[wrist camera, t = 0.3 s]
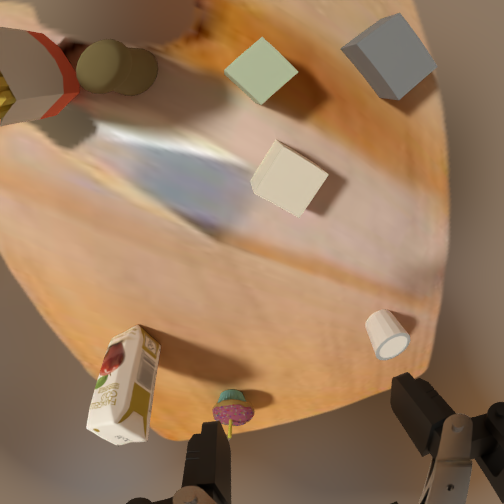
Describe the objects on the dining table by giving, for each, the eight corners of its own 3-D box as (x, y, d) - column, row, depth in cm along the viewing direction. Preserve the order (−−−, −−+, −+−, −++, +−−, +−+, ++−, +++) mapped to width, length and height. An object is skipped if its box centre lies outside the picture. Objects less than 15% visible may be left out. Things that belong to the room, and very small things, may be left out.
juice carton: (167, 345, 49) (155, 443, 32) (134, 360, 50) (117, 448, 34) (138, 318, 45) (113, 419, 29) (106, 335, 47) (78, 427, 31)
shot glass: (357, 335, 52) (369, 362, 46) (369, 307, 48) (385, 334, 42) (386, 332, 53) (400, 358, 47) (400, 306, 49) (416, 331, 43)
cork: (165, 54, 27) (140, 38, 17) (147, 101, 30) (115, 105, 20) (120, 44, 25) (80, 28, 16) (103, 90, 28) (58, 92, 18)
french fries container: (63, 115, 29) (-34, 146, 13) (29, 59, 23) (-68, 64, 8) (89, 91, 28) (-7, 104, 12) (53, 35, 23) (-42, 23, 7)
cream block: (250, 180, 36) (253, 193, 32) (275, 139, 34) (283, 146, 29) (290, 202, 38) (299, 218, 34) (315, 163, 35) (328, 174, 31)
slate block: (339, 49, 28) (356, 44, 24) (380, 19, 26) (399, 12, 21) (378, 97, 31) (399, 100, 27) (415, 66, 29) (437, 66, 25)
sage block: (224, 74, 29) (224, 70, 24) (256, 46, 28) (262, 36, 22) (255, 103, 31) (261, 104, 26) (286, 75, 30) (298, 72, 24)
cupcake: (203, 392, 57) (203, 442, 47) (236, 379, 55) (240, 431, 45) (228, 408, 61) (230, 454, 51) (259, 396, 59) (266, 443, 49)
